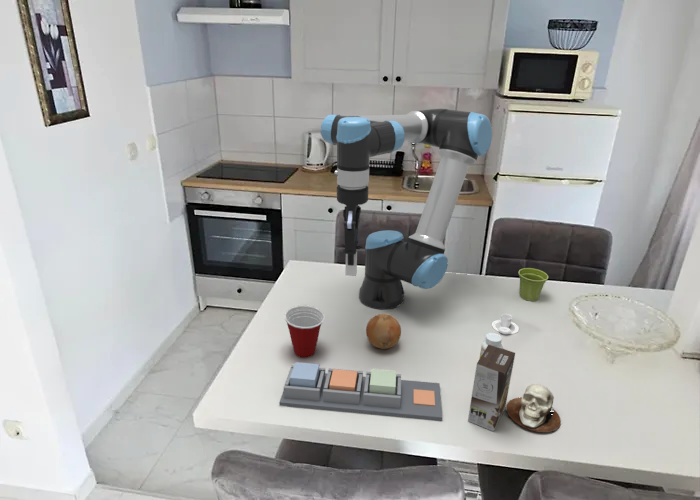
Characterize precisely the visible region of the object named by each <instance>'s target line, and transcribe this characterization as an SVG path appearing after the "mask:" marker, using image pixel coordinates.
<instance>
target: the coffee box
mask: <svg viewBox="0 0 700 500" xmlns="http://www.w3.org/2000/svg"><path fill="white" fill-rule="evenodd" d="M515 357H516V352H513V351H511V350H508V349H504V348H503V349H502V348H498V347H494V346H491V345H488V346H487V348H486V349H485V351H484V353H483V354H482V356H481V358H480V357H479V358H480V359H479V358H478V359H479V360H478V361H477V362H476V366H475V373H474V377H473V378H474V379H473V385H472V393H471V399H470V405H469V411H468V412H469V413H468V418H467V421H468V422H469V423H472V424H475V425H478V426H480V427H482V428H484V429H487V430H489V431H491V432H494V431H495V430H496V428H497V426H498V424H499V421H500V420H501V418H502V416H503V413H504V412H505V410H506V406H507V399H508V395H509V390H510V384H511V378H512V373H513V368H514V367H513V366H514V363H515Z"/></svg>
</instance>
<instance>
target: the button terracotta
mask: <svg viewBox="0 0 700 500" xmlns="http://www.w3.org/2000/svg"><path fill="white" fill-rule="evenodd" d="M332 369H333V372H332V376H331V381H330V385H329V389H330V390H341V391H352V392H355V391H356V385H357V371H358V370H354V371H348V370H349V369H343V370H336V369H337V368H332Z"/></svg>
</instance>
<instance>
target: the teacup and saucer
mask: <svg viewBox="0 0 700 500" xmlns="http://www.w3.org/2000/svg"><path fill="white" fill-rule="evenodd" d="M512 320H513V316H512V315H511V314H509V313H502V314H501V316H500V319H496V320H494V321H492V323H491V326H492V328H493V330H495V331H497V332H498V333H500V334H501V335H502V334H503V335H514V334H517V333H518V332H519V331H520V327H519V325H518V324H516V323H515V322H514V321H512ZM498 323H500V326H499V327H497V324H498ZM511 325H512V326H513V327H514V330H513V331H512V330H511V329H510V326H511Z"/></svg>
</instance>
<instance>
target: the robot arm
mask: <svg viewBox="0 0 700 500" xmlns="http://www.w3.org/2000/svg"><path fill="white" fill-rule="evenodd" d="M320 136H321V137H322V140H323V141H324V142H326V143H328V144H331V145H333V146H336V159H337V160H336V167H337V168H336V170H335V171H334V172H333V173H334V175H336V176H337V177H336V184H337V187H336V201H337V202H338V203H339V204H340V205H345V206H344V209H343V211H342V216H343V229H344V249H342V253H343V254H345V276H348V277H349V276H350V277H357V275H358V274H357V271H358V270H357V268H358V250H360V249H361V246H360V245H358V244H359V225H360V220H361V219H360V216H361V213H362V207H361V206H363V205H365V204H366V203H367V202H368V200H369V187H368V185H369V184H370V158H372V157H375V156H382V155H386V154H392V153H394V152H396V151H398V150H400V149H401V148H402V147H403V144H404V143H405V141H407V142H409V143H412V144H423V145H426V146H427V145H428V146H431V147H435V148H438V154H439V156H440V161H439V163H438V167H437V170H436V173H435V175H434V178H433V181H432V183H431V187H430V190H429V193H428V195H427V198H426V201H425V205H424V206H423V210H422V213H421V215H420V218H419V222H418V225H417V227H416V230H415V232H414V233H413V234H412V235H409V236H408V238H407V240H406V241H405V240H404V235H403V233H402V232H401V231H398V230H391V229H389V230H387V229H386V230H379V231H375V232H372V233H370V234H368V236H367V237H366V241H365V246H364V247H365V249H364V253H365V254H364V255H365V257H364V258H365V259H364V278H363V281H362V284H361V286H360V288H359V291H358V299H359V301H360V302H361V303H362V304H363V305H365V306H367V307H370V308H371V309H379V310H389V309H395V308H397V307H400V306H401V305H403V303H404V301H405V290H404V286H403V283H402V281H403V282H405V283H408V284H410V285H412V286H413V287H418V288H420V289H424V290H430V289H432V288H434V287H436V286H437V284H439V283H440V282H441V280H442V279H443V277H444V276H445V275H446V272H447V270H448V265H449V264H448V262H449V261H448V260H449V259H448V257H447V256H446V255H445V251H446V247H445V245H444V243H443V242H444V239H445V237H446V233H447V230H448V228H449V226H450V225H449V224H450V221H451V219H452V216H453V214H454V210H455V208H456V204H457V201H458V199H459V196H460V193H461V189H462V187H463V184H464V181H465V178H466V176H467V174H468V170H469V167H470V166H472V165H474V164H476V162H477V160H478V157H482V156H485V155H486V154H487V152H489V150H490V147H491V144H492V141H493V129H492V123H491V121H490V119H489V117H488V116H487V115H485V114H483V113H477V112H475V111H464V110H455V109H447V108H432V109H430V108H429V109H422V110H412V111H409V112H408V113H406V114H383V115H382V114H376V115H375V114H374V115H372V114H371V115H370V114H369V115H341V114H328V115H327V116H326V117H324V118H323V120H322V122H321V125H320Z"/></svg>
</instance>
